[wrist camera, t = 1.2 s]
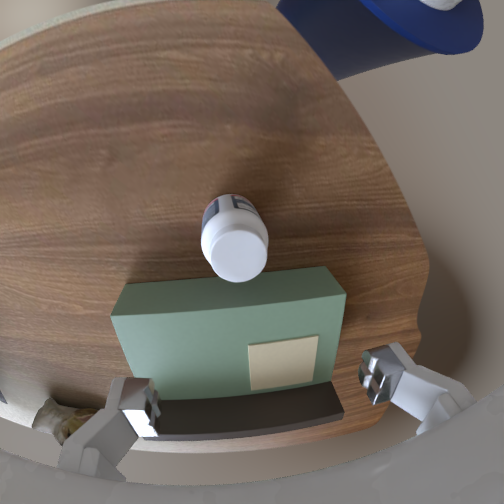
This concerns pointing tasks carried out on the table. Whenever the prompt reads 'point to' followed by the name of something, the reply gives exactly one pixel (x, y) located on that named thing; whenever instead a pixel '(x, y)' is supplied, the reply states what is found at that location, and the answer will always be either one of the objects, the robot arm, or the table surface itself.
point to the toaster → (2, 398)
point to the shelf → (236, 351)
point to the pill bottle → (234, 238)
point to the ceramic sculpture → (61, 419)
